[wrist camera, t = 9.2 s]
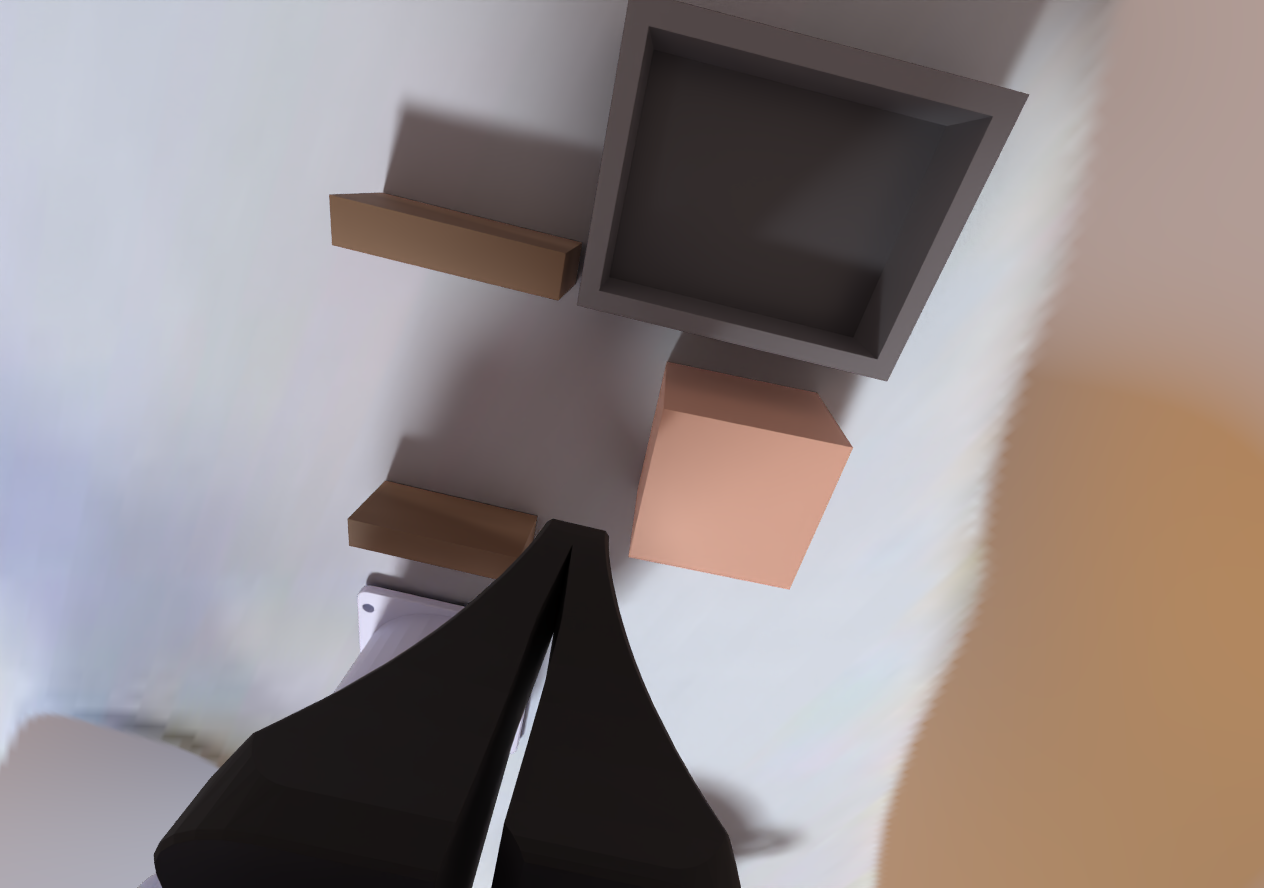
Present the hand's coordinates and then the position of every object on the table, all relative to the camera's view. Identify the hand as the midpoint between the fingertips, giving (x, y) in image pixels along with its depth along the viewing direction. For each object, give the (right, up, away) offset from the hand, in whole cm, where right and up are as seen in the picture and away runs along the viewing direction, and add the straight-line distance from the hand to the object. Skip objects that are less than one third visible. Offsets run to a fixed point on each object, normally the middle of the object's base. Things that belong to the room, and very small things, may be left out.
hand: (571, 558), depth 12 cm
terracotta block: (+4, +3, +6) cm, 8 cm away
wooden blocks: (-4, +4, +6) cm, 9 cm away
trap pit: (+5, +9, +2) cm, 11 cm away
